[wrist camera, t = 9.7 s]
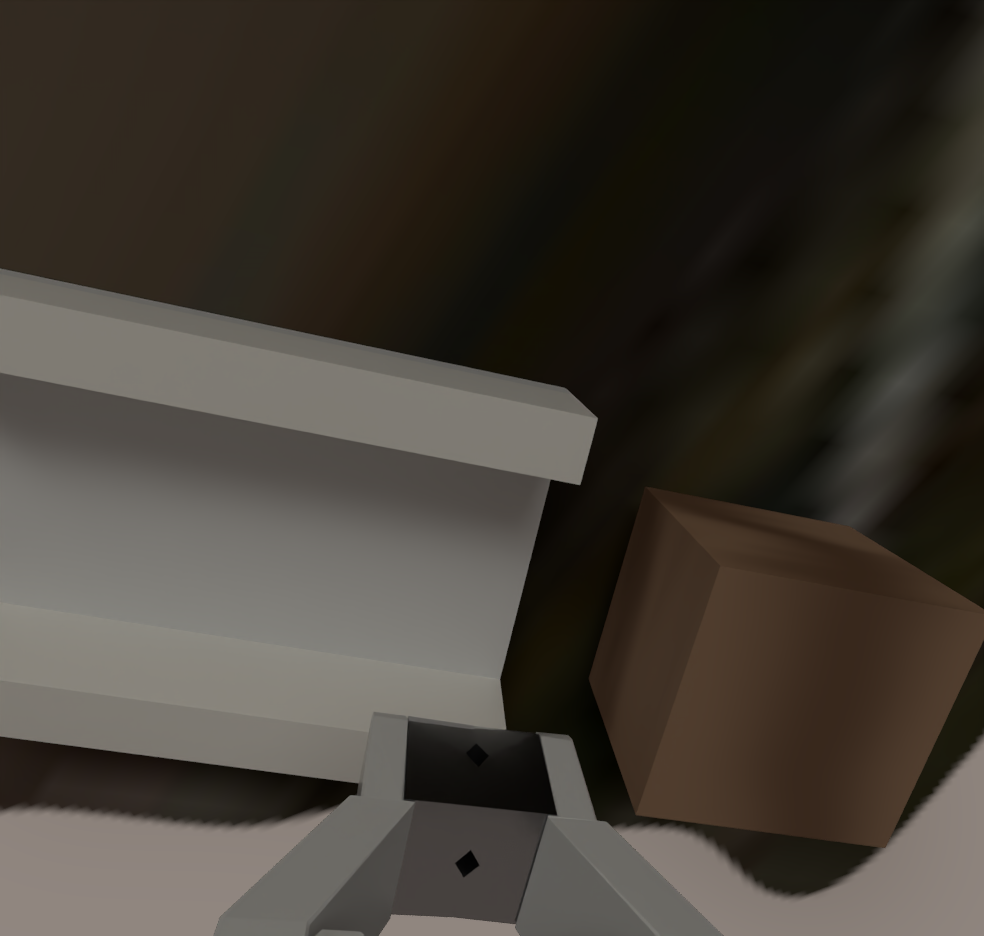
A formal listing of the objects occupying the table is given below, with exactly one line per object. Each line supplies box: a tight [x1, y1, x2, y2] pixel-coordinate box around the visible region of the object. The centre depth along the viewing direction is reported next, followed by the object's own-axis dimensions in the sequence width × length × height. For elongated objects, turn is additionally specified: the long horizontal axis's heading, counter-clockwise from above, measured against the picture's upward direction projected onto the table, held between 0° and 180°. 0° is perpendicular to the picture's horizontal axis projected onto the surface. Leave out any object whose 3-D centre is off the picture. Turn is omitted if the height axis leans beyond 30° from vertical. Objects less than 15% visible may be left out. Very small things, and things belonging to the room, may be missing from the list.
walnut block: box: [589, 487, 984, 848], centre depth 16 cm, size 6×6×5 cm
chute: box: [0, 269, 598, 783], centre depth 16 cm, size 15×10×4 cm, turn 78°
